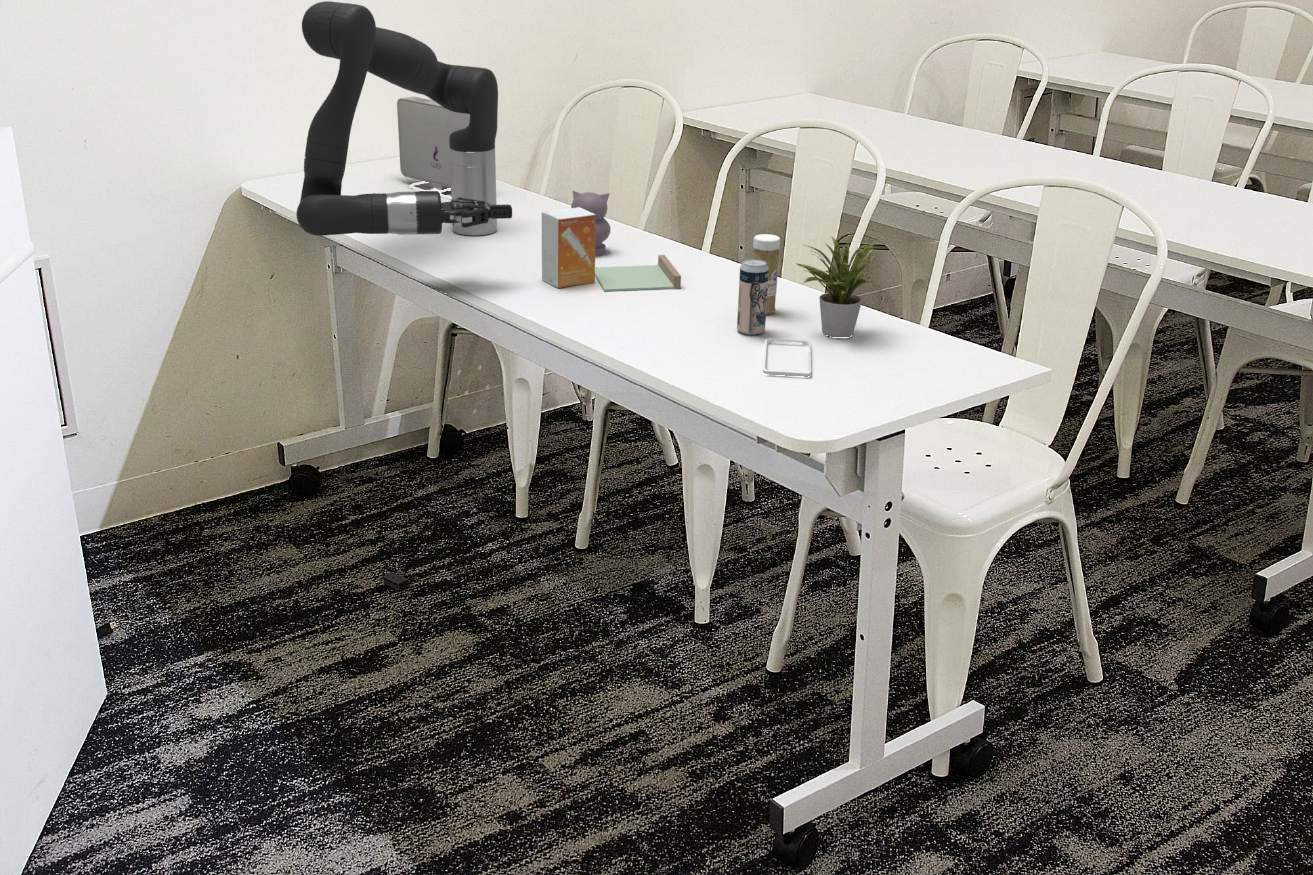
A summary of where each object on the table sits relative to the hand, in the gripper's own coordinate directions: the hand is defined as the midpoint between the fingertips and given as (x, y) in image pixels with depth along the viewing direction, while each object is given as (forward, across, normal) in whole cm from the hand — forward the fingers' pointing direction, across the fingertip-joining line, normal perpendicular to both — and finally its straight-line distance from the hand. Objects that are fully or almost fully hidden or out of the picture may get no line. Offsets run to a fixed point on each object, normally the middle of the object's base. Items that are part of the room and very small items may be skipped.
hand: (511, 211), depth 236 cm
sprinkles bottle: (+42, -22, +14) cm, 49 cm away
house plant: (+52, -34, +14) cm, 63 cm away
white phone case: (+38, -46, +14) cm, 61 cm away
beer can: (+36, -32, +14) cm, 50 cm away
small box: (+10, 0, +14) cm, 17 cm away
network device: (-8, +75, +13) cm, 76 cm away
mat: (+22, 0, +13) cm, 26 cm away
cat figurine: (+17, +19, +13) cm, 29 cm away
